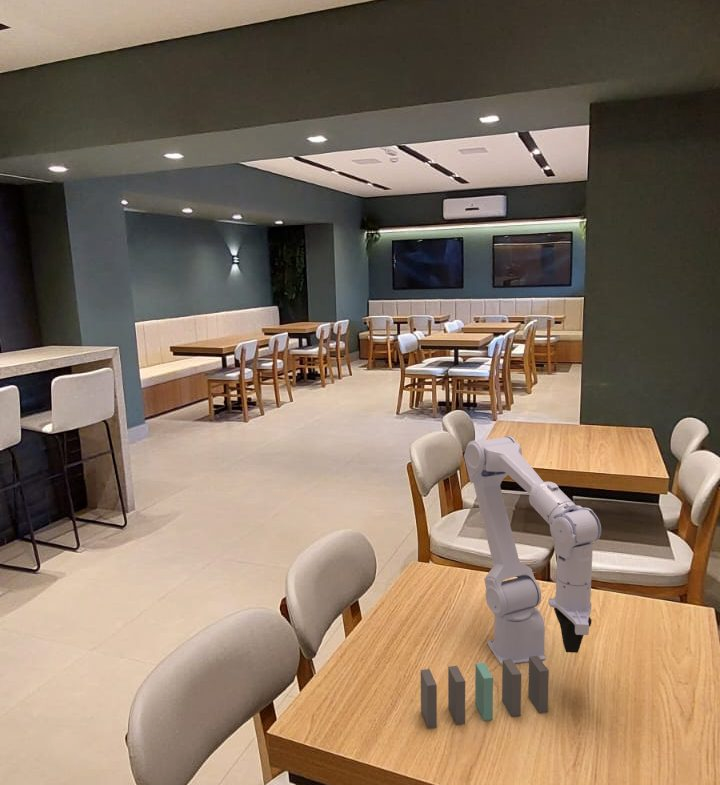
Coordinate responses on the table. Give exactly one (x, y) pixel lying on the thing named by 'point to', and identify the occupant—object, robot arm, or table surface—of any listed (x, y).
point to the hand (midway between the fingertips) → (571, 650)
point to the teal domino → (484, 691)
